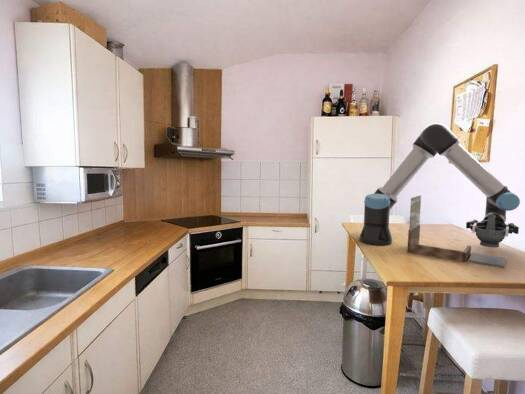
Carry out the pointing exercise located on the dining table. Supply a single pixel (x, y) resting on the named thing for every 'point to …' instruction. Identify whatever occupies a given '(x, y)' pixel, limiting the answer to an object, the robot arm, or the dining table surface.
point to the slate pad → (487, 260)
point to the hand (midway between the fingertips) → (489, 231)
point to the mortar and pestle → (490, 233)
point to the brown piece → (424, 249)
